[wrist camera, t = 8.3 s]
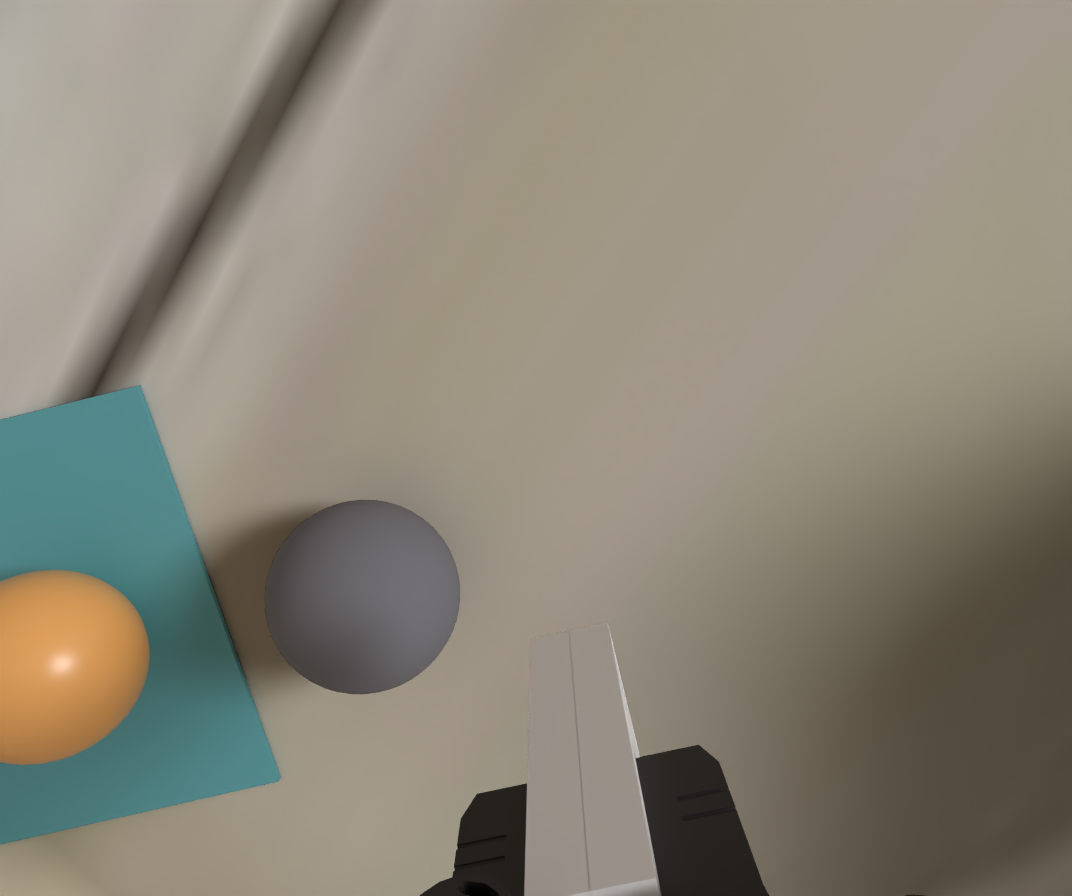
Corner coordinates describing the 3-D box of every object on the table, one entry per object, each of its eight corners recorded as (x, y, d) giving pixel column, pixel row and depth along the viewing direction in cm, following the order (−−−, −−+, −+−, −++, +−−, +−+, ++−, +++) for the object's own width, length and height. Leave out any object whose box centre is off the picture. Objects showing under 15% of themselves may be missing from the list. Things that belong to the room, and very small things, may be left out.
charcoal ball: (260, 586, 19) (215, 531, 24) (341, 768, 21) (285, 684, 26) (459, 488, 22) (383, 456, 26) (516, 659, 23) (436, 601, 28)
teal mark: (140, 385, 25) (136, 386, 25) (280, 777, 28) (278, 781, 28) (-289, 491, 25) (-295, 493, 25) (-104, 865, 28) (-108, 868, 28)
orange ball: (56, 591, 21) (-158, 650, 20) (135, 775, 22) (-66, 831, 22) (139, 524, 26) (-31, 570, 26) (198, 674, 27) (37, 719, 27)
